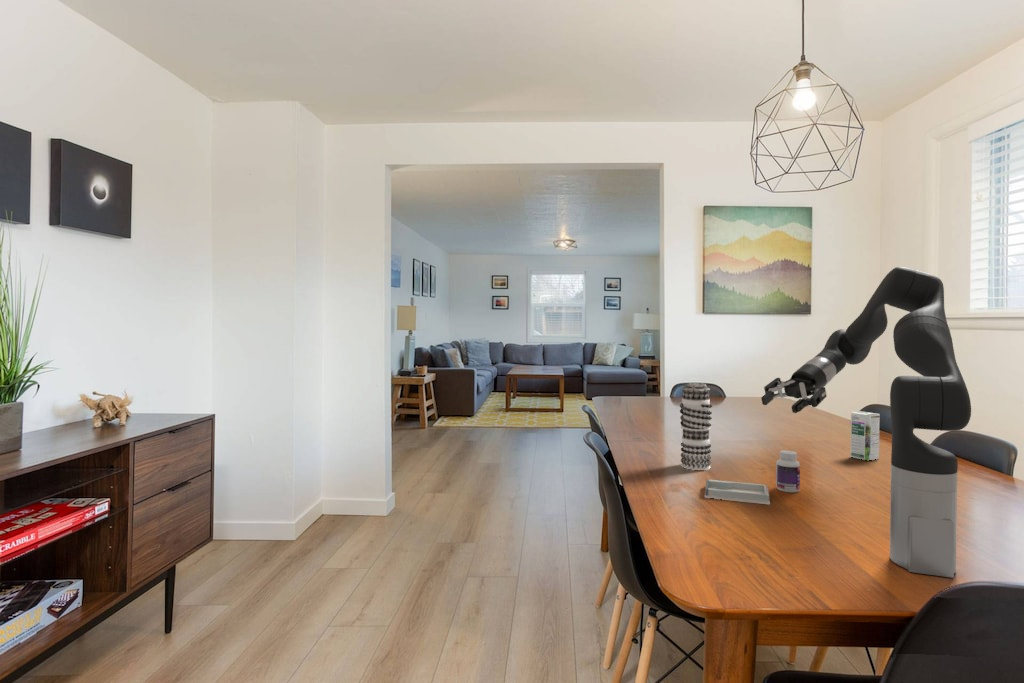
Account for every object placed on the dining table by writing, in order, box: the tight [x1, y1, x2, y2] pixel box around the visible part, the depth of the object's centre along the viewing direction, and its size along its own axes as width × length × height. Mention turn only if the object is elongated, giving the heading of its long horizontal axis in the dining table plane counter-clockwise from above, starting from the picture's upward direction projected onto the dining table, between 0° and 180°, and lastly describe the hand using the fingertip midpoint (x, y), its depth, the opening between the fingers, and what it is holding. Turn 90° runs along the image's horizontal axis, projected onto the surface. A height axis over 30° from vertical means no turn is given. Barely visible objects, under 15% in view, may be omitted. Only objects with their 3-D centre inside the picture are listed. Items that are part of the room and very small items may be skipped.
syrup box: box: [849, 410, 881, 462], centre depth 166 cm, size 6×6×14 cm
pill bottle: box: [775, 450, 801, 493], centre depth 136 cm, size 5×5×10 cm
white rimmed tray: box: [704, 478, 771, 506], centre depth 132 cm, size 14×10×2 cm
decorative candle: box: [679, 382, 713, 471], centre depth 158 cm, size 9×9×25 cm
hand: (777, 406), depth 138 cm, fingers open, 8 cm apart
